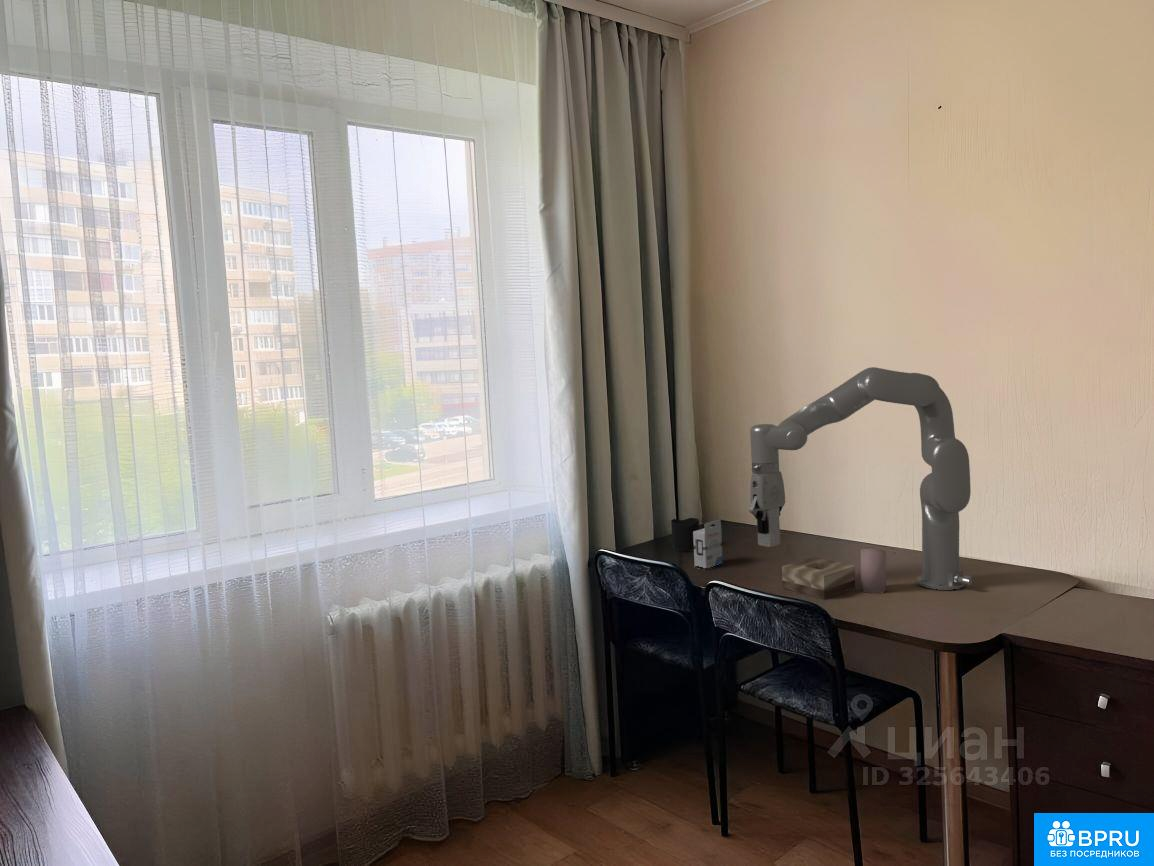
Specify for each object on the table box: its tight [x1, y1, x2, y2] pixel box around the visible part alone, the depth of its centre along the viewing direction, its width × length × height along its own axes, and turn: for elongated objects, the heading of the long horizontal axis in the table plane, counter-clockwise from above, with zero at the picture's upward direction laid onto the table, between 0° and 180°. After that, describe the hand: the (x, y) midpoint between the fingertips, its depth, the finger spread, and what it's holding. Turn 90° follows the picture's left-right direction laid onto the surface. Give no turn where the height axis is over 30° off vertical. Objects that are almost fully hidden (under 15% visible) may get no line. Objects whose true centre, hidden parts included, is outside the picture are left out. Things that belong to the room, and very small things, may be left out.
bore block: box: [781, 556, 856, 600], centre depth 237 cm, size 14×14×6 cm
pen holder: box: [670, 517, 700, 551], centre depth 287 cm, size 9×9×10 cm
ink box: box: [693, 518, 723, 569], centre depth 265 cm, size 8×5×15 cm, turn 133°
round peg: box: [860, 547, 887, 594], centre depth 233 cm, size 6×6×11 cm
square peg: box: [756, 507, 781, 548], centre depth 240 cm, size 4×4×11 cm
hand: (768, 531), depth 240 cm, fingers closed on square peg, 4 cm apart
